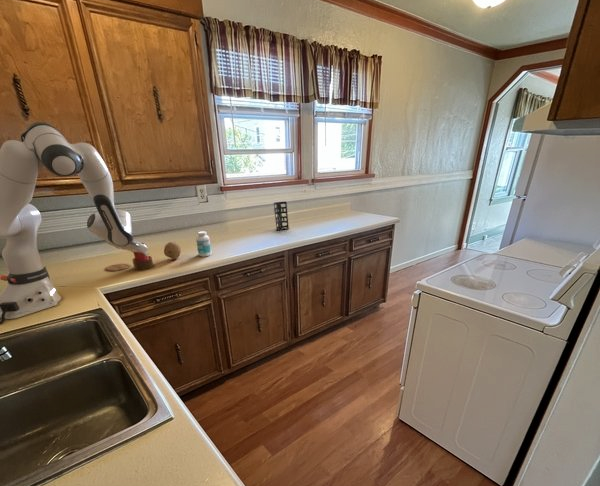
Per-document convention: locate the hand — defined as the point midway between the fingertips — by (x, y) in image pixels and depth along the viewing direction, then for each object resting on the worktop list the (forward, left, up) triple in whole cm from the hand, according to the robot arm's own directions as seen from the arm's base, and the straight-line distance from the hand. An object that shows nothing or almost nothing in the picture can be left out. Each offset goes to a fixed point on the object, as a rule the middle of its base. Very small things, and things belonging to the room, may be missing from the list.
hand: (142, 253), depth 171 cm
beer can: (-1, 0, -7) cm, 7 cm away
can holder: (0, 0, -7) cm, 8 cm away
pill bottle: (+30, -16, -8) cm, 35 cm away
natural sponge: (+16, -5, -8) cm, 19 cm away
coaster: (-7, +13, -7) cm, 17 cm away
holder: (+109, -27, -8) cm, 113 cm away
